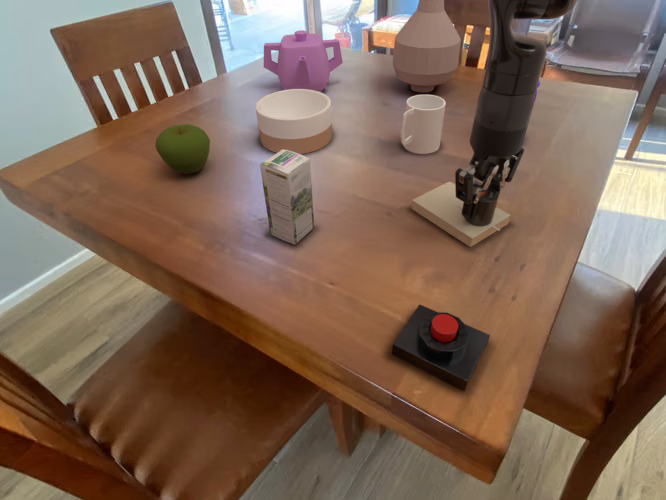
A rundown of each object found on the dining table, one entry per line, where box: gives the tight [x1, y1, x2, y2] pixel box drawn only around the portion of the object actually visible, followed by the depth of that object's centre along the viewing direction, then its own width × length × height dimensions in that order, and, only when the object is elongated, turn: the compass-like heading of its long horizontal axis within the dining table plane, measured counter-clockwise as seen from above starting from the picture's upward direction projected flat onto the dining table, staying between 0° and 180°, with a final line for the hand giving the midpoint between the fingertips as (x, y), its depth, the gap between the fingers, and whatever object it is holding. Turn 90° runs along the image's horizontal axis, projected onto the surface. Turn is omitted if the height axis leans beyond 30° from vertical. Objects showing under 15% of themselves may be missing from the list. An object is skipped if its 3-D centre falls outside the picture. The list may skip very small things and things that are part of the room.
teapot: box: [263, 29, 344, 93], centre depth 122 cm, size 19×18×15 cm
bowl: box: [255, 89, 333, 155], centre depth 101 cm, size 17×17×8 cm
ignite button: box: [430, 314, 458, 343], centre depth 54 cm, size 3×3×2 cm
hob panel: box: [411, 181, 512, 248], centre depth 77 cm, size 16×10×2 cm, turn 36°
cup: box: [399, 94, 447, 155], centre depth 94 cm, size 8×12×10 cm
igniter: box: [391, 304, 491, 391], centre depth 56 cm, size 10×8×4 cm
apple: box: [154, 123, 211, 175], centre depth 90 cm, size 11×10×10 cm
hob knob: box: [464, 187, 500, 226], centre depth 73 cm, size 5×5×5 cm
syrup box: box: [259, 149, 315, 246], centre depth 72 cm, size 6×6×14 cm
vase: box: [392, 0, 462, 93], centre depth 113 cm, size 18×18×30 cm
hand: (478, 211), depth 74 cm, fingers closed on hob knob, 5 cm apart
